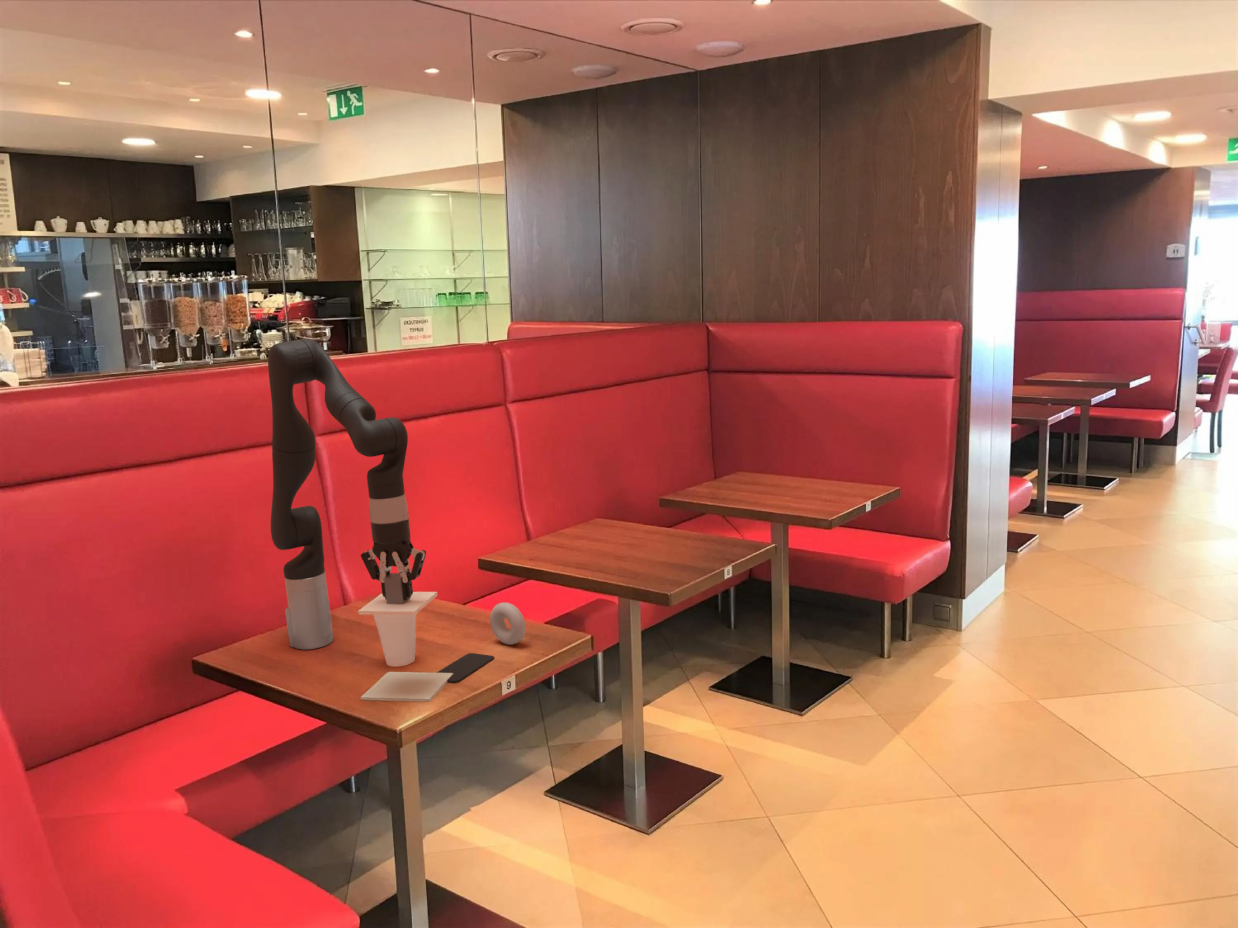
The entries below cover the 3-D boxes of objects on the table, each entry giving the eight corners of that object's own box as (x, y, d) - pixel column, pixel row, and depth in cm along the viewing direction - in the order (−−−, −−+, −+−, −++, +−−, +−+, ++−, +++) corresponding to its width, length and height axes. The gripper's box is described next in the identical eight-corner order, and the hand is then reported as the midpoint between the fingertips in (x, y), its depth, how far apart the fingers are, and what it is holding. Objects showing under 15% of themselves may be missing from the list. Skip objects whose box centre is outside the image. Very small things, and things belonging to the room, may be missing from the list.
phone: (496, 656, 215) (456, 681, 202) (496, 659, 216) (457, 685, 202) (468, 652, 219) (428, 677, 206) (469, 655, 219) (428, 680, 206)
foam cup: (384, 672, 211) (378, 615, 209) (374, 659, 219) (368, 604, 217) (427, 662, 215) (421, 606, 213) (415, 649, 223) (409, 596, 221)
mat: (360, 699, 197) (360, 697, 197) (388, 674, 210) (388, 671, 210) (429, 701, 194) (429, 698, 194) (453, 675, 207) (453, 672, 207)
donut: (488, 642, 225) (484, 601, 223) (499, 637, 228) (495, 597, 226) (520, 650, 219) (516, 608, 217) (530, 645, 221) (526, 603, 220)
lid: (358, 614, 194) (355, 584, 193) (384, 595, 206) (381, 566, 205) (414, 615, 192) (411, 584, 191) (437, 595, 203) (434, 566, 202)
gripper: (348, 522, 193) (358, 604, 197) (414, 521, 190) (423, 605, 194) (365, 513, 200) (374, 592, 204) (429, 512, 198) (437, 592, 201)
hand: (398, 598), depth 199 cm, fingers closed on lid, 3 cm apart
